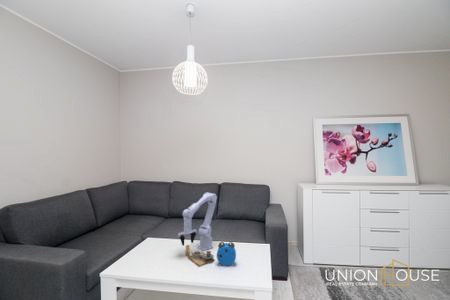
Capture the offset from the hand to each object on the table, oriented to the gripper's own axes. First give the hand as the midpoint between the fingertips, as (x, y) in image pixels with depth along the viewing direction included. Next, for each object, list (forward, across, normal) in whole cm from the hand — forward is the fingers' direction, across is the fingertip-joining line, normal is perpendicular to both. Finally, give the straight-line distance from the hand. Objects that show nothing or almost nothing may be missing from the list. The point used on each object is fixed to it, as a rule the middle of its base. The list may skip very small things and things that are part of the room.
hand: (187, 243), depth 167 cm
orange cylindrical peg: (+9, 0, 0) cm, 9 cm away
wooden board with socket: (+9, -5, +12) cm, 15 cm away
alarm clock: (+9, -15, +28) cm, 33 cm away
